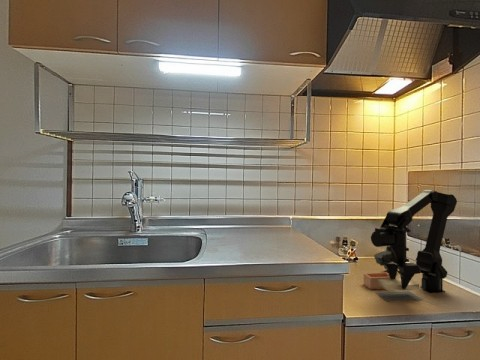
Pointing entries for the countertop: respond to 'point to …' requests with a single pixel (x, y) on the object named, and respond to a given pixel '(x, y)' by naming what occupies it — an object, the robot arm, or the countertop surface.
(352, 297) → the countertop surface
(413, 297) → the mat
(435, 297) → the countertop surface
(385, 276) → the open box
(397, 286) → the beige block on tray
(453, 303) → the countertop surface
